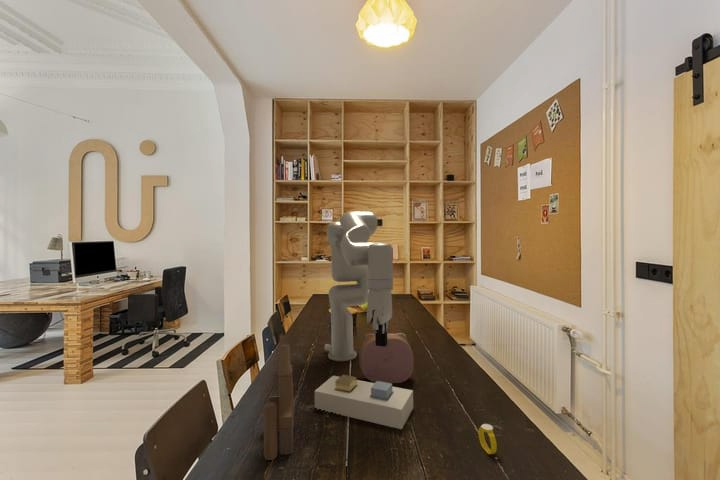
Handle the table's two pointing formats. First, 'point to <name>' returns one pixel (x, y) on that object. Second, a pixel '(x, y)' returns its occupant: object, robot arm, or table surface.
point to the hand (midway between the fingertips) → (381, 345)
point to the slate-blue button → (381, 390)
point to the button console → (365, 403)
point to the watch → (489, 430)
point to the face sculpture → (386, 359)
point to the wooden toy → (280, 411)
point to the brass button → (346, 383)
